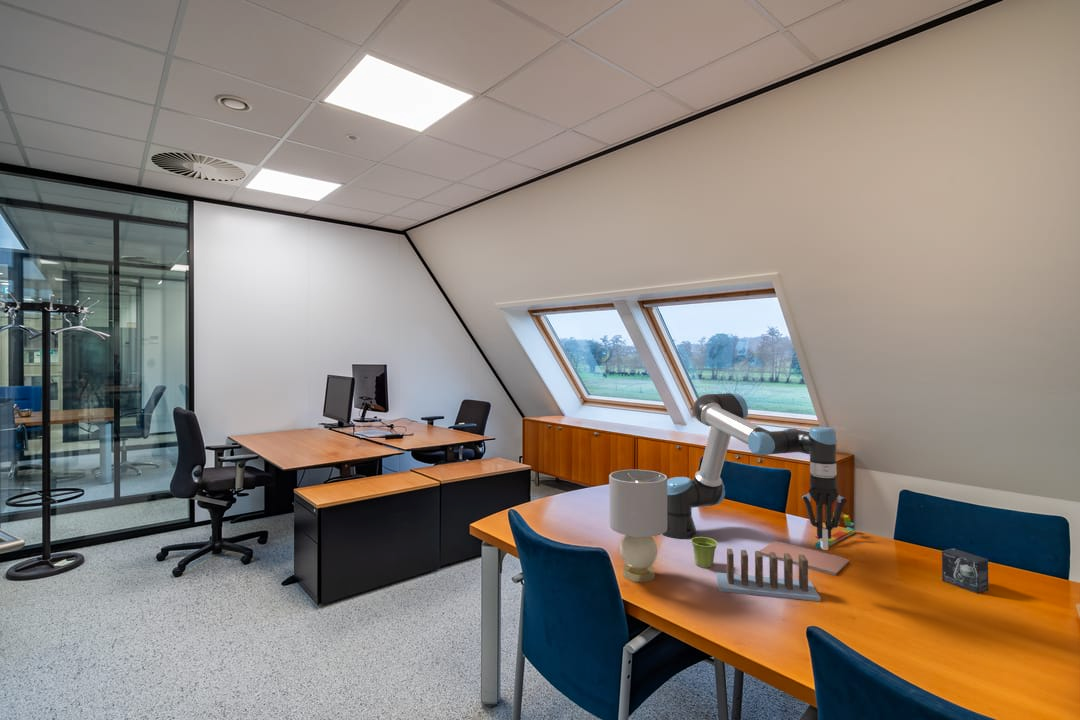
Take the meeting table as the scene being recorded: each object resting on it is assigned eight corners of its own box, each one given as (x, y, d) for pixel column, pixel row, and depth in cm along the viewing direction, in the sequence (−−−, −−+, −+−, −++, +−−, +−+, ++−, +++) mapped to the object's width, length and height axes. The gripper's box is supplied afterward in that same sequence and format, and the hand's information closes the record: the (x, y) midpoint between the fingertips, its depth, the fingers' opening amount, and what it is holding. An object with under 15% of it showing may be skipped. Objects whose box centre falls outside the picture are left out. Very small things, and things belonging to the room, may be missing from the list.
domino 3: (757, 586, 167) (757, 556, 167) (755, 580, 172) (755, 550, 172) (762, 587, 167) (762, 556, 167) (760, 580, 172) (760, 551, 172)
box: (941, 581, 173) (940, 550, 173) (952, 577, 176) (952, 547, 175) (978, 594, 163) (977, 562, 163) (989, 590, 166) (989, 558, 166)
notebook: (850, 563, 189) (850, 558, 189) (836, 577, 178) (836, 571, 178) (775, 544, 209) (775, 539, 209) (758, 555, 197) (758, 550, 197)
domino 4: (772, 588, 166) (772, 557, 166) (769, 581, 171) (769, 551, 171) (777, 588, 166) (777, 558, 166) (774, 581, 171) (774, 552, 170)
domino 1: (728, 583, 169) (728, 553, 169) (727, 577, 174) (726, 548, 174) (733, 584, 169) (733, 554, 169) (732, 577, 174) (731, 548, 174)
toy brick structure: (823, 550, 201) (823, 512, 201) (815, 547, 204) (815, 510, 204) (855, 533, 220) (855, 499, 220) (847, 531, 222) (847, 497, 222)
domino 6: (802, 591, 164) (802, 560, 164) (798, 584, 169) (798, 554, 169) (808, 591, 163) (807, 560, 163) (804, 584, 168) (803, 554, 168)
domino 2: (743, 585, 168) (742, 555, 168) (741, 578, 173) (740, 549, 173) (748, 585, 168) (748, 555, 168) (746, 579, 173) (745, 550, 173)
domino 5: (787, 589, 165) (787, 558, 165) (784, 582, 170) (783, 553, 170) (792, 590, 165) (792, 559, 165) (789, 583, 169) (789, 553, 169)
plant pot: (717, 561, 191) (717, 538, 191) (717, 571, 182) (717, 547, 182) (691, 558, 194) (691, 535, 194) (690, 568, 185) (690, 544, 185)
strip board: (719, 591, 167) (719, 587, 167) (716, 575, 179) (716, 572, 178) (820, 601, 159) (820, 597, 159) (810, 584, 171) (810, 581, 171)
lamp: (631, 559, 194) (631, 467, 193) (679, 575, 179) (678, 475, 179) (598, 575, 179) (597, 476, 179) (646, 594, 165) (646, 486, 165)
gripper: (804, 477, 162) (805, 550, 162) (849, 478, 159) (850, 554, 159) (798, 472, 170) (799, 542, 169) (841, 473, 166) (842, 545, 166)
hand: (824, 548), depth 164 cm, fingers closed
